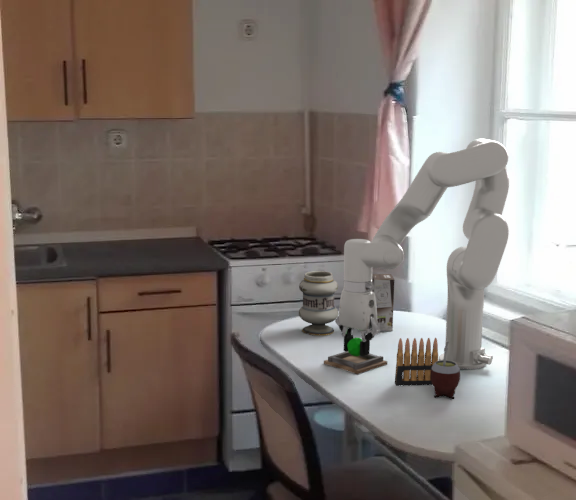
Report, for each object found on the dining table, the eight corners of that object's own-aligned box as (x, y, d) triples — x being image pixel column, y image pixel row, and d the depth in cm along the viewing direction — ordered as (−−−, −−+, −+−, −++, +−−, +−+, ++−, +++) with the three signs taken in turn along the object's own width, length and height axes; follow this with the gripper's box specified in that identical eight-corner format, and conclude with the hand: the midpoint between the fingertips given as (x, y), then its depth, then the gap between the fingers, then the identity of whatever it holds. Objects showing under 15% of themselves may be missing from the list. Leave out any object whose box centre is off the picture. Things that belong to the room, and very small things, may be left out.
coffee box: (393, 331, 261) (395, 279, 258) (372, 330, 261) (373, 279, 258) (390, 323, 270) (392, 273, 267) (370, 323, 270) (371, 273, 267)
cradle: (387, 364, 229) (387, 357, 228) (357, 374, 220) (357, 366, 220) (353, 354, 237) (353, 347, 237) (323, 363, 229) (324, 356, 228)
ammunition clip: (436, 382, 215) (438, 336, 212) (438, 385, 213) (440, 338, 211) (394, 383, 214) (396, 337, 212) (396, 385, 212) (397, 339, 210)
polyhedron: (346, 352, 231) (346, 335, 230) (364, 352, 231) (364, 335, 230) (348, 358, 226) (348, 341, 225) (366, 358, 226) (367, 340, 225)
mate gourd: (445, 388, 210) (447, 329, 207) (468, 398, 204) (471, 337, 201) (422, 394, 206) (424, 334, 203) (444, 404, 200) (447, 342, 197)
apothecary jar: (290, 331, 259) (290, 273, 256) (315, 323, 268) (316, 267, 265) (321, 339, 252) (322, 279, 248) (346, 330, 261) (347, 273, 257)
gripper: (392, 289, 221) (390, 356, 225) (343, 279, 233) (342, 343, 237) (373, 293, 216) (371, 362, 220) (324, 283, 228) (323, 348, 231)
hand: (356, 351), depth 228 cm, fingers closed on polyhedron, 5 cm apart
